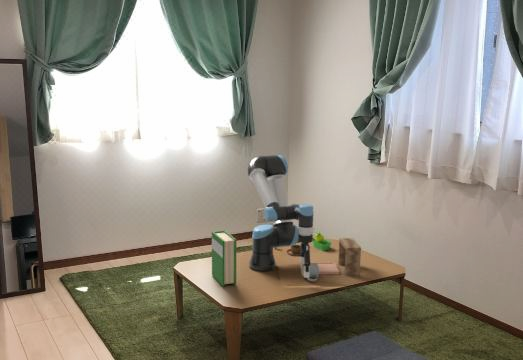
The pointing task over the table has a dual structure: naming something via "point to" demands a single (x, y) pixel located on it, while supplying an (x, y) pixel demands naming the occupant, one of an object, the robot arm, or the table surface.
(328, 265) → the tray
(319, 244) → the fruit basket
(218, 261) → the hardback book
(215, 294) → the table surface
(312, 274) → the ceramic mug
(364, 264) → the table surface
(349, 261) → the shelf
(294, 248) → the place setting
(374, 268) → the table surface
